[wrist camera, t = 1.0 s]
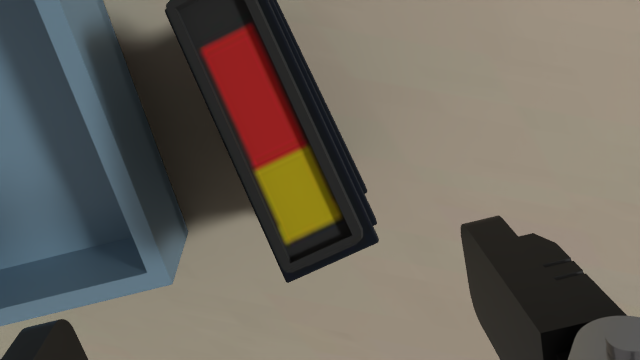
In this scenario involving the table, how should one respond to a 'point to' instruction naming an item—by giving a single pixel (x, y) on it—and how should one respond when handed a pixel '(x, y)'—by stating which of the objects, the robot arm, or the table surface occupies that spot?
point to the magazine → (276, 131)
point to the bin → (76, 166)
